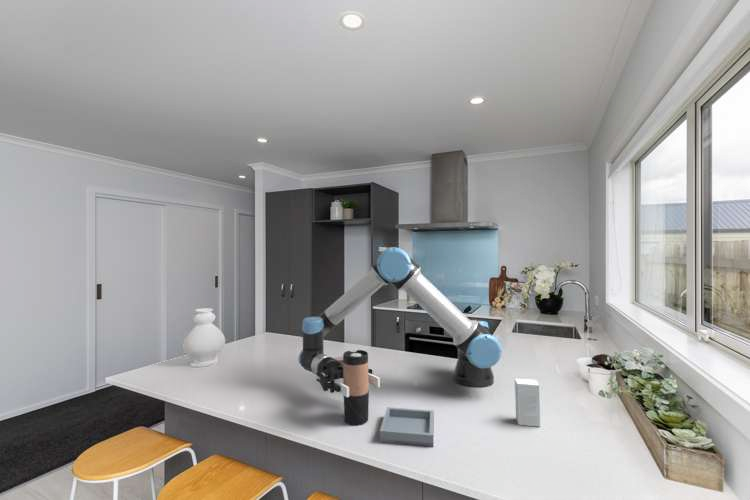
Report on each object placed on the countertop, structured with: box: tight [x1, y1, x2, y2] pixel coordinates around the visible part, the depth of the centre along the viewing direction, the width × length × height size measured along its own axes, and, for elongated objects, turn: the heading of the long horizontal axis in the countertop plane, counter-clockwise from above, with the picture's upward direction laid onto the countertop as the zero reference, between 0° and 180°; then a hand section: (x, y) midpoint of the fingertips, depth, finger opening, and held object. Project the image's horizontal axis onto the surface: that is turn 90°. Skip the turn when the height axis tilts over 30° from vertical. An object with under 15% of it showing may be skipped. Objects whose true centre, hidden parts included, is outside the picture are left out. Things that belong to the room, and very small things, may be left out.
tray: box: [379, 406, 435, 448], centre depth 96 cm, size 14×14×3 cm
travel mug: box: [342, 349, 370, 426], centre depth 103 cm, size 8×8×20 cm
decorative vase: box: [182, 307, 226, 368], centre depth 159 cm, size 18×18×25 cm
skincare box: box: [514, 378, 541, 428], centre depth 99 cm, size 6×4×12 cm
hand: (364, 387), depth 99 cm, fingers open, 10 cm apart
